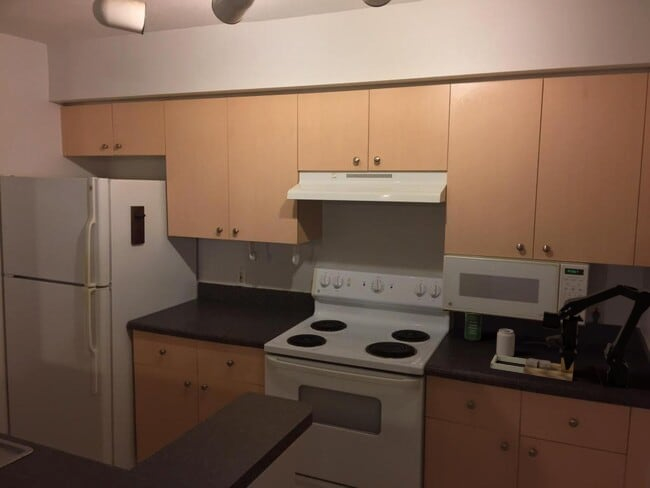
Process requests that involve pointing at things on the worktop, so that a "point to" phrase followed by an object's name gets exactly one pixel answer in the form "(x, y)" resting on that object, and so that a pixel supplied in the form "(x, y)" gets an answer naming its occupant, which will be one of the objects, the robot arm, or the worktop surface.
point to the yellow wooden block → (564, 367)
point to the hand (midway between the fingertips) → (567, 368)
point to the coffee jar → (473, 326)
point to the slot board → (549, 372)
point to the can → (505, 342)
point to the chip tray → (508, 367)
